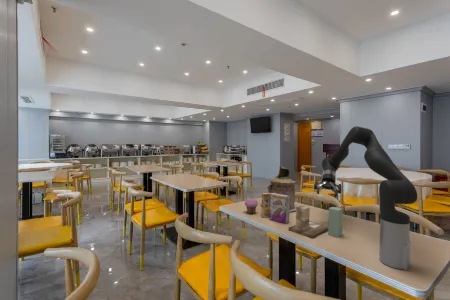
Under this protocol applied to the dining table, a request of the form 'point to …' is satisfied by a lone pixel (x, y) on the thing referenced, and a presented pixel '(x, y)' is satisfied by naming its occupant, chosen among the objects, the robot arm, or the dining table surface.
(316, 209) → the dining table surface
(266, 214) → the candy box
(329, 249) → the dining table surface
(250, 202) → the cupcake
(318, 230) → the base board
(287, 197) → the candy bar box
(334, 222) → the green block
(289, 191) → the cookie jar
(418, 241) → the dining table surface
